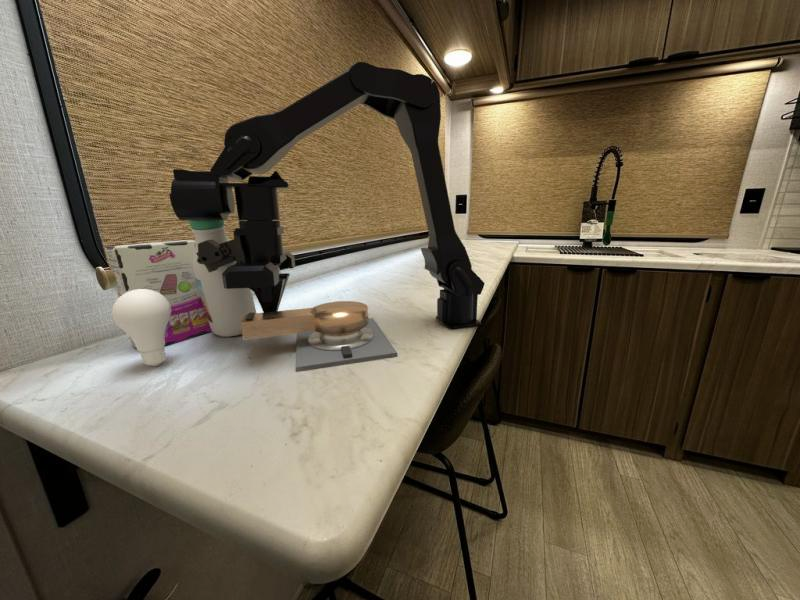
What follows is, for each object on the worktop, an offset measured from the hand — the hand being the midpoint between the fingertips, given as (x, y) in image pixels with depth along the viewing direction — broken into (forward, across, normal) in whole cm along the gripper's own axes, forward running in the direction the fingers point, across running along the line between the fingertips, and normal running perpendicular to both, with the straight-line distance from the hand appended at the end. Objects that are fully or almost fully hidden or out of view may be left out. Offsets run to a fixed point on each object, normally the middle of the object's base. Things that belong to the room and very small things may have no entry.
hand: (271, 319), depth 51 cm
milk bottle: (+3, -7, -8) cm, 11 cm away
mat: (+4, +2, +11) cm, 12 cm away
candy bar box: (+4, -5, -17) cm, 19 cm away
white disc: (+4, +2, +11) cm, 12 cm away
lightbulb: (+4, +6, -15) cm, 16 cm away
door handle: (+1, +3, +6) cm, 7 cm away
